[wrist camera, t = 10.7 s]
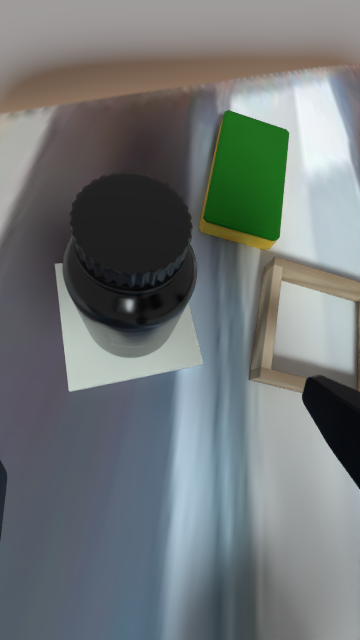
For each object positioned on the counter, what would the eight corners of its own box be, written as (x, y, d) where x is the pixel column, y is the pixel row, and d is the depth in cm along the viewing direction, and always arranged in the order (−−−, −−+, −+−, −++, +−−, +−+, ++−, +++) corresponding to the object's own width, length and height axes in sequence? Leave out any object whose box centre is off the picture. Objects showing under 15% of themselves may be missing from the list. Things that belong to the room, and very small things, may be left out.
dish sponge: (278, 149, 32) (290, 129, 30) (267, 253, 27) (279, 239, 25) (218, 130, 31) (225, 108, 29) (197, 234, 27) (203, 217, 24)
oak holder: (366, 409, 24) (386, 409, 22) (249, 379, 23) (260, 377, 21) (366, 297, 27) (383, 289, 25) (264, 267, 26) (275, 256, 24)
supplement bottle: (187, 300, 23) (244, 200, 12) (150, 375, 21) (177, 338, 10) (113, 262, 23) (100, 124, 12) (67, 333, 21) (-3, 247, 10)
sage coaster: (201, 365, 23) (203, 364, 22) (70, 391, 20) (69, 391, 20) (175, 254, 25) (176, 251, 25) (56, 267, 23) (54, 263, 22)
